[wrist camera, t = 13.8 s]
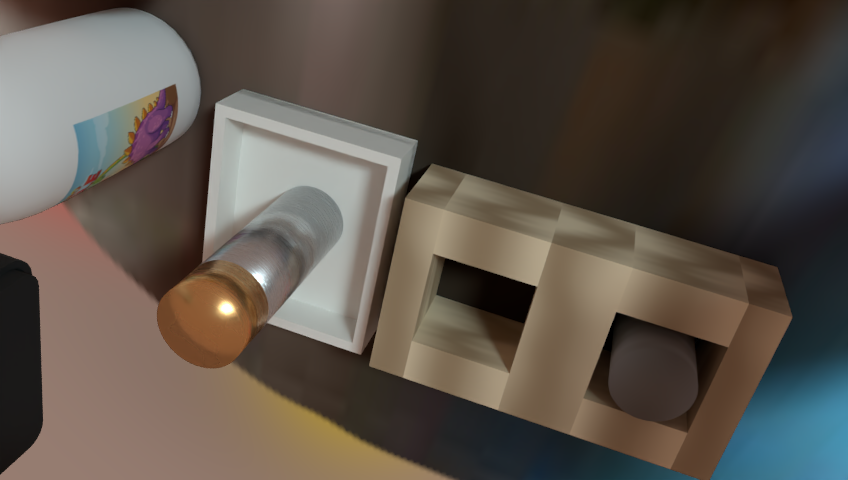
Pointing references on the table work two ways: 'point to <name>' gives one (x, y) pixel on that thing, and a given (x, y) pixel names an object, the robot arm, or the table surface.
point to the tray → (333, 174)
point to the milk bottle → (88, 103)
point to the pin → (249, 278)
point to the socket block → (581, 321)
